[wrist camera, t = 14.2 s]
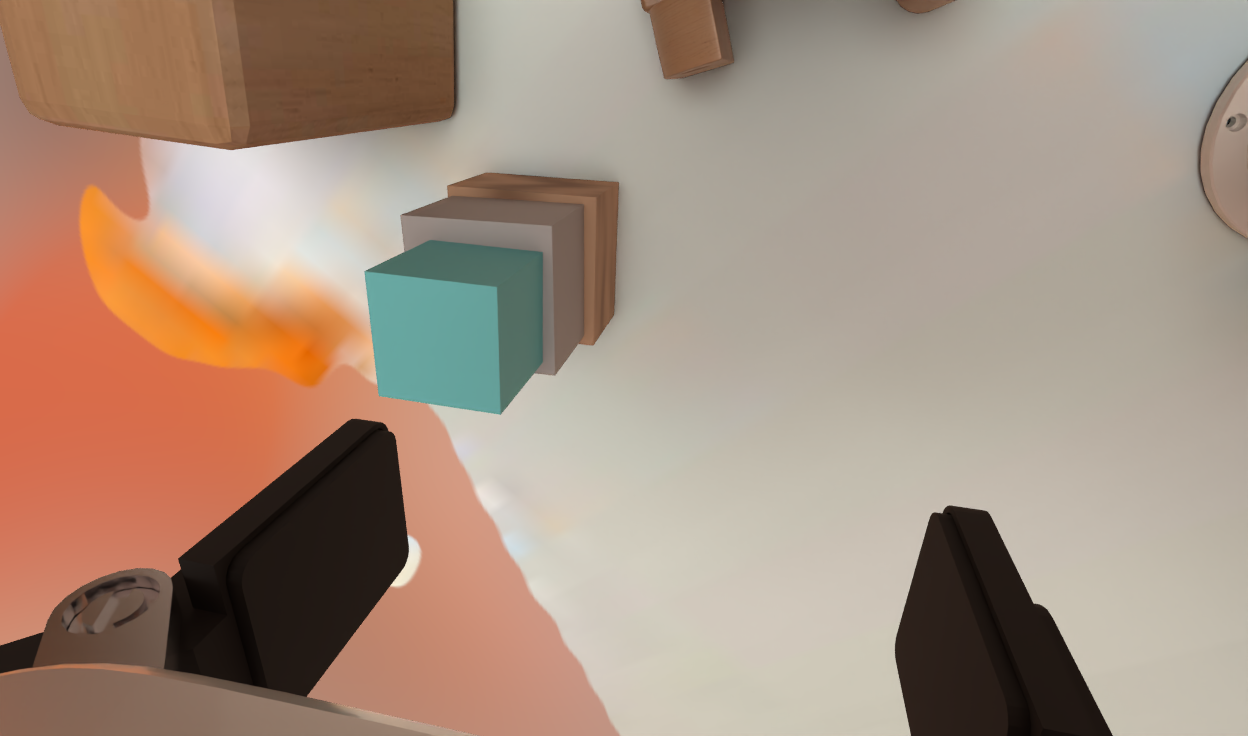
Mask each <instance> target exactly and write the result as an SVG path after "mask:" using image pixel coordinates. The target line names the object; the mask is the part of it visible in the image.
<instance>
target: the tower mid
mask: <svg viewBox="0 0 1248 736" xmlns="http://www.w3.org/2000/svg"><path fill="white" fill-rule="evenodd" d="M400 216H401V224H402V233H403V242H404V251H405V252H406V251H408V250H410V249H412V248H414V247H416V246H418V245H420V244H423V243H425V242H427V241H429V240H436V241H445V242H454V243H464V244H473V245H482V246H492V247H501V248H510V249H519V250H529V251H538V252H543V363H542V364H541V365H540V366H539V368H538V369H537V370H536V371H535V373H537V374H546V375H556V373H557V372H558V371H559V369H560V368H561V367H562V365H563V364H564V362H565V361H566V360H567V358H568V357H569V356H570V354H571V353H572V352H573V350H574V349H575V347H576V346H577V345H578V343H579V342H580V341H581V339H582V338H583V337H584V204H573V203H558V202H542V201H526V200H511V199H495V198H480V197H464V196H450V197H448V198H445V199H442V200H440V201H437V202H434V203H432V204H429V205H426V206H424V207H421V208H418V209H416V210H413V211H410V212H408V213H405V214H402V215H400Z"/></svg>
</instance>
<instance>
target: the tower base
mask: <svg viewBox="0 0 1248 736" xmlns="http://www.w3.org/2000/svg"><path fill="white" fill-rule="evenodd" d="M447 189H448V197H450V196H464V197H480V198H495V199H511V200H526V201H542V202H558V203H573V204H584V337H583V338H582V339H581V341H580V342H579V343H578V344H585V345H594V344H595V342H596V341H597V339H598V338H599V336H600V335H601V333H602V332H603V330H604V329H605V327H606V326H607V324H608V323H609V321H610V320H611V319H612V317H613V316H614V303H615V275H616V247H617V218H618V190H619V182H607V181H594V180H580V179H567V178H553V177H540V176H526V175H512V174H499V173H484V174H481V175H478V176H475V177H472V178H469V179H466V180H463V181H460V182H457V183H454V184H451V185H448V186H447Z"/></svg>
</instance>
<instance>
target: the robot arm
mask: <svg viewBox="0 0 1248 736" xmlns="http://www.w3.org/2000/svg"><path fill="white" fill-rule="evenodd" d="M1229 118H1231V122H1230V123H1229V125H1227V126H1226V122H1227V121H1228V119H1229ZM1201 177H1202V181H1203V185H1204V190H1205V194H1206V196H1207V198H1208V199H1209V201H1210V203H1211V205H1212V207H1213V209H1214V211H1215V212H1216V213H1217V214H1218V215H1219V217H1220V218H1221V219H1222V220H1223V221H1224V222H1225V223H1226V224H1227V225H1228V226H1229V227H1230V228H1232V229H1233V230H1235V231H1236V232H1238V233H1239V234H1241V235H1242V236H1244V237H1246V238H1247V239H1248V61H1247V62H1246V63H1245V64H1244V65H1243V66H1242V68H1241V69H1240V70H1239V71H1238V72H1237V73H1236V74H1235V76H1234V77H1233V78H1232V79H1231V81H1230V82H1229V84H1228V86H1227V87H1226V89H1225V90H1224V92H1223V93H1222V95H1221V96H1220V98H1219V100H1218V101H1217V103H1216V105H1215V108H1214V110H1213V112H1212V114H1211V117H1210V119H1209V121H1208V124H1207V126H1206V130H1205V134H1204V139H1203V143H1202V148H1201ZM408 553H409V545H408V537H407V529H406V521H405V512H404V503H403V495H402V487H401V479H400V471H399V462H398V453H397V445H396V439H395V436H394V434H393V433H392V432H389V431H388V428H387V427H386V425H385V424H383V423H381V422H374V421H368V420H361V419H351V420H349V421H347V422H346V423H345V424H344V425H342V426H341V427H340V428H339V429H338V430H336V431H335V432H334V433H333V434H331V435H330V436H329V437H328V438H326V439H325V440H324V441H323V442H322V443H320V444H319V445H318V446H317V447H315V448H314V449H313V450H312V451H310V452H309V453H308V454H307V455H305V456H304V457H303V458H302V459H301V460H299V461H298V462H297V463H296V464H294V465H293V466H292V467H291V468H290V469H288V470H287V471H286V472H284V473H283V474H282V475H281V476H280V477H278V478H277V479H276V480H275V481H273V482H272V483H271V484H270V485H269V486H267V487H266V488H265V489H263V490H262V491H261V492H260V493H259V494H258V495H256V496H255V497H254V498H253V499H251V500H250V501H249V502H247V503H246V504H245V505H244V506H243V507H241V508H240V509H239V510H238V511H236V512H235V513H234V514H233V515H231V516H230V517H229V518H228V519H226V520H225V521H224V522H223V523H221V524H220V525H219V526H218V527H217V528H215V529H214V530H213V531H212V532H210V533H209V534H208V535H207V536H206V537H204V538H203V539H202V540H200V541H199V542H198V543H197V544H196V545H194V546H193V547H192V548H191V549H189V550H188V551H187V552H186V553H185V554H183V555H182V556H181V557H180V558H178V560H179V564H180V567H181V570H180V571H179V572H177V573H176V574H175V575H174V576H173V577H171V578H170V577H169V576H168V575H167V574H166V573H165V572H162V571H159V570H155V569H148V568H146V569H145V568H136V569H131V570H124V571H119V572H116V573H112V574H109V575H107V576H103V577H101V578H98V579H96V580H94V581H92V582H90V583H88V584H86V585H84V586H82V587H80V588H79V589H77V590H76V591H74V592H73V593H71V594H70V595H68V596H67V597H66V598H65V599H64V600H63V601H62V602H60V603H59V604H58V605H57V606H56V607H55V609H54V610H53V612H52V614H51V615H50V617H49V619H48V621H47V624H46V627H45V630H44V632H43V633H39V634H36V635H33V636H29V637H26V638H23V639H20V640H17V641H14V642H10V643H7V644H4V645H1V646H0V736H478V735H474V734H469V733H465V732H460V731H456V730H452V729H447V728H443V727H439V726H434V725H430V724H425V723H421V722H416V721H412V720H407V719H403V718H398V717H393V716H389V715H385V714H380V713H376V712H371V711H367V710H362V709H358V708H353V707H348V706H344V705H340V704H335V703H331V702H326V701H322V700H317V699H313V698H308V697H307V695H308V694H309V693H310V691H311V690H312V689H313V687H314V686H315V685H316V683H317V682H318V681H319V679H320V678H321V677H322V675H323V674H324V673H325V671H326V670H327V669H328V667H329V666H330V665H331V663H332V662H333V661H334V659H335V658H336V657H337V655H338V654H339V653H340V652H341V650H342V649H343V648H344V646H345V645H346V644H347V642H348V641H349V640H350V638H351V637H352V636H353V634H354V633H355V632H356V630H357V629H358V628H359V626H360V625H361V624H362V622H363V621H364V620H365V618H366V617H367V616H368V614H369V613H370V612H371V610H372V609H373V608H374V606H375V605H376V604H377V602H378V601H379V600H380V599H381V597H382V596H383V595H384V593H385V592H386V590H387V589H388V588H389V587H390V585H391V584H392V583H393V581H394V580H395V579H396V577H397V576H398V575H399V573H400V572H401V571H402V569H403V568H404V566H405V564H406V562H407V558H408ZM895 658H896V664H897V669H898V674H899V679H900V683H901V688H902V693H903V698H904V703H905V708H906V713H907V718H908V722H909V727H910V732H911V736H1113V735H1112V733H1111V731H1110V729H1109V727H1108V725H1107V724H1106V722H1105V720H1104V718H1103V716H1102V714H1101V712H1100V710H1099V708H1098V706H1097V704H1096V702H1095V700H1094V698H1093V696H1092V694H1091V692H1090V690H1089V688H1088V686H1087V684H1086V682H1085V680H1084V678H1083V676H1082V675H1081V673H1080V671H1079V669H1078V667H1077V665H1076V663H1075V661H1074V659H1073V657H1072V655H1071V653H1070V651H1069V649H1068V647H1067V645H1066V643H1065V641H1064V639H1063V637H1062V635H1061V633H1060V631H1059V629H1058V627H1057V626H1056V624H1055V622H1054V620H1053V618H1052V616H1051V615H1050V613H1049V612H1048V610H1047V609H1046V608H1045V607H1043V606H1041V605H1039V604H1033V602H1032V600H1031V598H1030V595H1029V593H1028V591H1027V589H1026V587H1025V585H1024V583H1023V581H1022V579H1021V577H1020V575H1019V573H1018V571H1017V569H1016V567H1015V565H1014V563H1013V561H1012V559H1011V557H1010V554H1009V552H1008V550H1007V548H1006V546H1005V544H1004V542H1003V540H1002V538H1001V536H1000V534H999V532H998V530H997V528H996V526H995V524H994V522H993V520H992V518H991V516H990V514H989V513H988V512H987V511H984V510H977V509H970V508H963V507H956V506H947V507H946V508H945V509H944V511H943V513H935V512H934V513H932V515H931V516H930V519H929V522H928V526H927V529H926V533H925V537H924V540H923V544H922V547H921V551H920V554H919V558H918V561H917V565H916V568H915V572H914V576H913V579H912V583H911V586H910V590H909V593H908V597H907V600H906V604H905V607H904V611H903V615H902V618H901V622H900V625H899V629H898V632H897V636H896V642H895Z"/></svg>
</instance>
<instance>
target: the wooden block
mask: <svg viewBox="0 0 1248 736" xmlns="http://www.w3.org/2000/svg"><path fill="white" fill-rule="evenodd" d="M0 25H1V29H2V33H3V37H4V40H5V44H6V48H7V52H8V55H9V59H10V63H11V66H12V70H13V74H14V77H15V81H16V85H17V89H18V92H19V96H20V99H21V100H22V102H23V103H24V105H25V107H26V108H27V110H28V111H29V113H30V114H32V115H34V116H35V117H37V118H39V119H42V120H45V121H47V122H50V123H53V124H56V125H59V126H66V127H73V128H80V129H87V130H94V131H101V132H108V133H115V134H123V135H129V136H136V137H143V138H150V139H157V140H164V141H171V142H178V143H185V144H192V145H199V146H206V147H213V148H220V149H227V150H235V149H242V148H250V147H257V146H264V145H271V144H279V143H286V142H293V141H300V140H308V139H315V138H322V137H329V136H337V135H344V134H351V133H358V132H366V131H373V130H380V129H387V128H395V127H402V126H409V125H416V124H424V123H431V122H438V121H442V120H445V119H447V118H450V116H451V115H452V111H453V108H454V35H453V0H0Z"/></svg>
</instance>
